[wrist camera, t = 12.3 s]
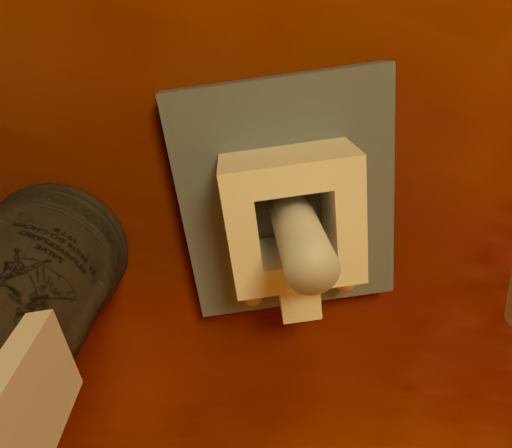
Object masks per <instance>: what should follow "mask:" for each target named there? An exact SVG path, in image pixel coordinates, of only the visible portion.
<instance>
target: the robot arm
mask: <svg viewBox="0 0 512 448" xmlns="http://www.w3.org/2000/svg"><path fill="white" fill-rule="evenodd" d="M504 319H505V320H506V322H507V323H508V324H509V325H510V326H511V327H512V269H511V276H510V282H509V289H508V296H507V302H506V309H505V315H504ZM82 383H83V381H82V378H81V376H80V373H79V371H78V369H77V366H76V364H75V361H74V359H73V356H72V354H71V352H70V349H69V347H68V344H67V342H66V340H65V337H64V335H63V332H62V330H61V327H60V325H59V323H58V320H57V318H56V315H55V313H54V310H53V309H50V310H43V311H36V312H30V313H25V315H24V316H23V318H22V319H21V321H20V322H19V323H18V325H17V326H16V328H15V329H14V331H13V332H12V333H11V335H10V336H9V338H8V339H7V341H6V342H5V343H4V345H3V346H2V348H1V349H0V448H57V445H58V443H59V440H60V438H61V435H62V433H63V430H64V428H65V425H66V423H67V420H68V418H69V415H70V413H71V410H72V408H73V405H74V403H75V400H76V398H77V395H78V393H79V390H80V388H81V385H82Z"/></svg>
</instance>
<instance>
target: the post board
mask: <svg viewBox="0 0 512 448" xmlns="http://www.w3.org/2000/svg"><path fill="white" fill-rule="evenodd" d="M395 66H396V61H390V60H381V61H373V62H366V63H359V64H352V65H344V66H337V67H330V68H322V69H315V70H308V71H301V72H293V73H286V74H279V75H271V76H264V77H257V78H249V79H242V80H235V81H228V82H220V83H213V84H206V85H198V86H191V87H184V88H177V89H169V90H162V91H159V92H158V93H156V94H155V95H156V100H157V105H158V109H159V114H160V119H161V123H162V128H163V133H164V137H165V142H166V147H167V151H168V156H169V161H170V165H171V170H172V175H173V179H174V184H175V189H176V193H177V198H178V203H179V207H180V212H181V217H182V221H183V226H184V231H185V235H186V240H187V245H188V249H189V254H190V259H191V263H192V268H193V273H194V277H195V282H196V287H197V291H198V296H199V301H200V305H201V310H202V315H203V317H208V316H215V315H222V314H230V313H237V312H244V311H251V310H258V309H265V308H272V307H280V303H279V296H271V297H264V298H257V299H250V300H243V301H238V300H237V294H236V288H235V282H234V276H233V270H232V264H231V258H230V252H229V246H228V240H227V235H226V229H225V223H224V217H223V211H222V205H221V199H220V193H219V187H218V181H217V163H218V154H224V153H231V152H238V151H245V150H253V149H260V148H267V147H275V146H282V145H289V144H296V143H304V142H311V141H318V140H326V139H333V138H340V137H346V138H347V139H348V140H349V141H351V142H352V143H353V144H354V145H355V146H357V147H358V148H359V149H360V150H361V151H363V152H364V153H365V154H366V165H367V223H368V281H369V283H365V284H358V285H350V286H343V287H336V288H332V287H333V286H334V285H335V284H336V282H337V281H338V279H339V276H340V272H341V265H340V261H339V259H338V257H337V255H336V253H335V251H334V249H333V247H332V245H331V243H330V241H329V239H328V237H327V235H326V233H325V231H324V229H323V226H322V211H321V196H320V193H314V194H307V195H300V196H293V197H285V198H278V199H271V200H264V201H256V202H254V205H255V213H256V220H257V228H258V235H259V239H263V238H270V237H276V242H277V246H278V250H279V254H280V258H281V263H282V267H283V271H284V275H285V279H286V282H287V284H288V285H289V287H290V288H291V289H292V290H294V291H295V292H297V293H299V294H302V295H308V296H312V295H319V294H321V301H323V300H330V299H337V298H344V297H351V296H358V295H366V294H373V293H380V292H387V291H393V264H394V165H395Z"/></svg>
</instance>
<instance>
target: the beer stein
mask: <svg viewBox="0 0 512 448" xmlns="http://www.w3.org/2000/svg"><path fill="white" fill-rule="evenodd" d="M127 260H128V248H127V241H126V236H125V234H124V231H123V229H122V226H121V224H120V223H119V221H118V220H117V218H116V217H115V216H114V214H113V213H112V212H111V211H110V210H109V209H108V208H107V207H106V206H105V205H104V204H103V203H102V202H101V201H99V200H98V199H96V198H94V197H93V196H91V195H89V194H87V193H86V192H84V191H82V190H79V189H76V188H73V187H70V186H65V185H59V184H52V183H48V184H37V185H33V186H30V187H26V188H23V189H20V190H18V191H16V192H14V193H13V194H11V195H10V196H8V197H7V198H6V199H5V200H3V201H2V202H1V203H0V349H1V348H2V346H3V345H4V343H5V342H6V341H7V339H8V338H9V336H10V335H11V333H12V332H13V331H14V329H15V328H16V326H17V325H18V323H19V322H20V321H21V319H22V318H23V316H24V315H25V313H30V312H36V311H43V310H50V309H53V310H54V313H55V315H56V318H57V320H58V323H59V325H60V327H61V330H62V332H63V335H64V337H65V340H66V342H67V344H68V347H69V349H70V352H71V354H72V356H73V359H75V358H76V356H77V354H78V352H79V350H80V349H81V347H82V345H83V343H84V341H85V339H86V337H87V336H88V334H89V332H90V330H91V328H92V326H93V324H94V322H95V320H96V318H97V316H98V314H99V313H100V311H101V310H102V309H103V308H104V307H105V306H106V305H107V304H108V302H109V300H110V299H111V297H112V295H113V293H114V291H115V288H116V285H117V284H118V282H119V281H120V279H121V278H122V276H123V273H124V271H125V269H126V265H127Z"/></svg>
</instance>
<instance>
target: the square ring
mask: <svg viewBox="0 0 512 448" xmlns="http://www.w3.org/2000/svg"><path fill="white" fill-rule="evenodd" d="M217 181H218V187H219V193H220V199H221V205H222V211H223V217H224V223H225V229H226V235H227V240H228V246H229V252H230V258H231V264H232V270H233V276H234V282H235V288H236V294H237V300H238V301H243V300H250V299H257V298H264V297H271V296H279V303H280V309H281V314H282V319H283V324H290V323H297V322H305V321H312V320H319V319H322V306H321V294H319V295H312V296H308V295H302V294H299V293H297V292H295V291H294V290H292V289H291V288H290V287H289V285H288V284H287V282H286V279H285V275H284V271H283V267H282V263H281V258H280V254H279V250H278V246H277V242H276V237H270V238H263V239H259V235H258V228H257V220H256V213H255V205H254V202H256V201H264V200H271V199H278V198H285V197H293V196H300V195H307V194H314V193H320V196H321V211H322V226H323V229H324V231H325V233H326V235H327V237H328V239H329V241H330V243H331V245H332V247H333V249H334V251H335V253H336V255H337V257H338V259H339V261H340V265H341V272H340V276H339V279H338V281H337V282H336V284H335V285H334V286H333V287H332V288H336V287H343V286H350V285H358V284H365V283H369V281H368V223H367V165H366V154H365V153H364V152H363V151H361V150H360V149H359V148H358V147H357V146H355V145H354V144H353V143H352V142H351V141H349V140H348V139H347V138H346V137H340V138H333V139H326V140H318V141H311V142H304V143H296V144H289V145H282V146H275V147H267V148H260V149H253V150H245V151H238V152H231V153H224V154H218V163H217Z"/></svg>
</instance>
